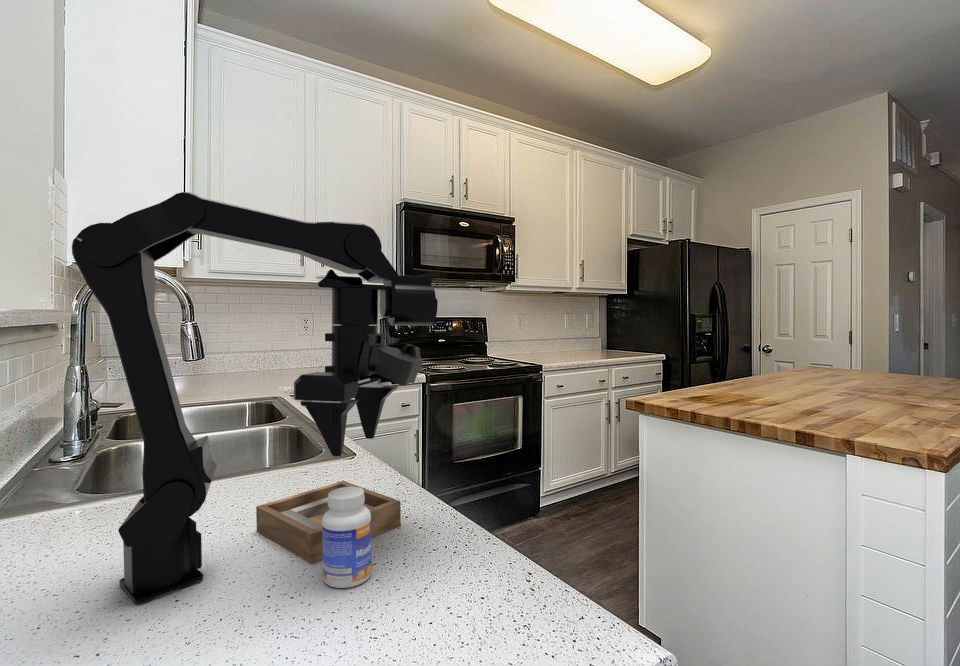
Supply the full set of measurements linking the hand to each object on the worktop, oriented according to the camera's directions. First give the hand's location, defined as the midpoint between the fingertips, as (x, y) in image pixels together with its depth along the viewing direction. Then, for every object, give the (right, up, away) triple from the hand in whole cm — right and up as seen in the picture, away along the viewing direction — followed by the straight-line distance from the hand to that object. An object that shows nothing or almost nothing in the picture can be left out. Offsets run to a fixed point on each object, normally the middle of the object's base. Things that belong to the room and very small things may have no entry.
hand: (354, 446), depth 63 cm
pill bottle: (+1, -13, -7) cm, 15 cm away
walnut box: (-5, -13, +6) cm, 15 cm away
